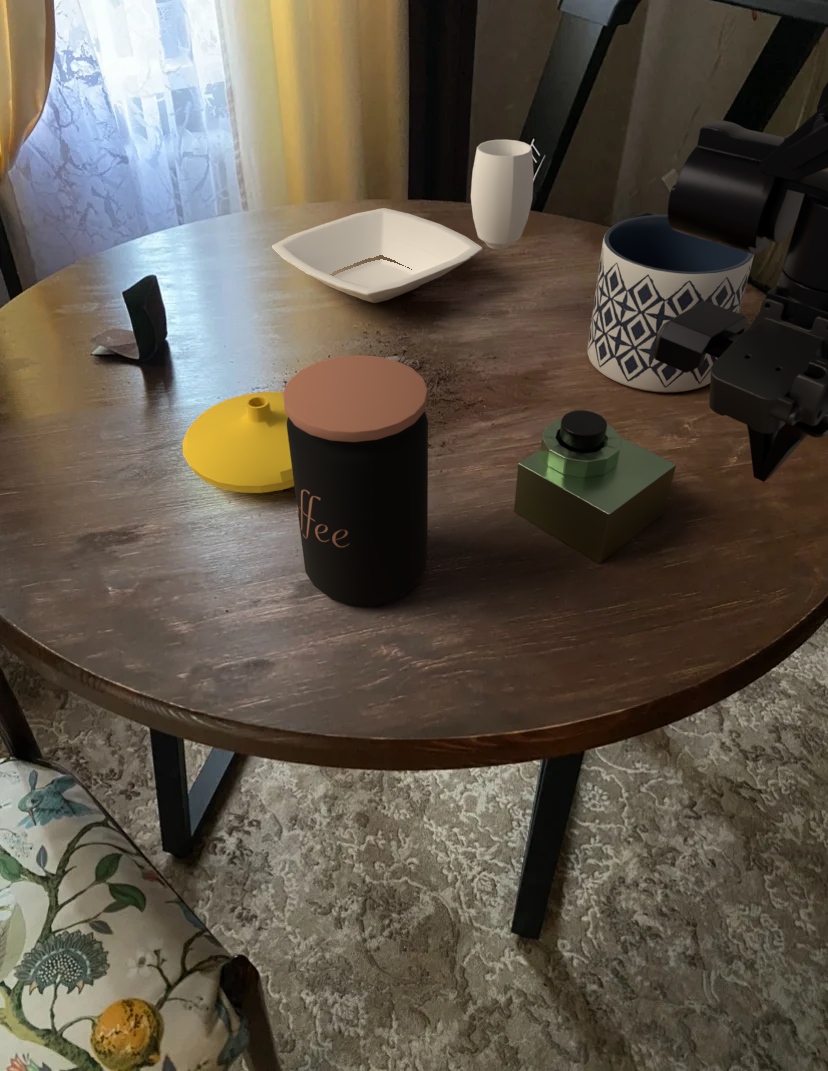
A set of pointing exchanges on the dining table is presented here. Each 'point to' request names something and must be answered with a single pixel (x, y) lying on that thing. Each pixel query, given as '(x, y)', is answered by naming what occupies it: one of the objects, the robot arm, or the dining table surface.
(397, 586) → the coffee jar
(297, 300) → the dining table surface
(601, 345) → the planter
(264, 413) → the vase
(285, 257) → the bowl
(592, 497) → the push button box
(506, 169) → the cup
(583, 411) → the button
